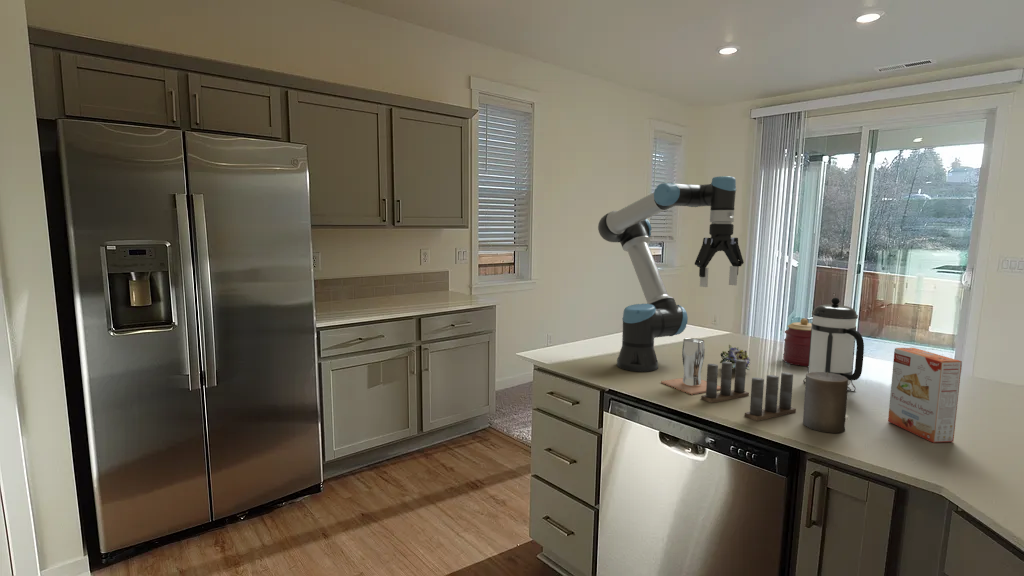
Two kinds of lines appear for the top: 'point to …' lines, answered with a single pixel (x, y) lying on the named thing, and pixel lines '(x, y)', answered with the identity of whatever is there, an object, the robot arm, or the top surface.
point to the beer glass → (692, 361)
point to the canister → (797, 343)
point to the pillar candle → (825, 402)
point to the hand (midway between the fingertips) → (718, 286)
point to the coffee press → (835, 341)
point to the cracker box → (925, 393)
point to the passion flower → (735, 356)
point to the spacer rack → (756, 390)
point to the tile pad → (691, 390)
